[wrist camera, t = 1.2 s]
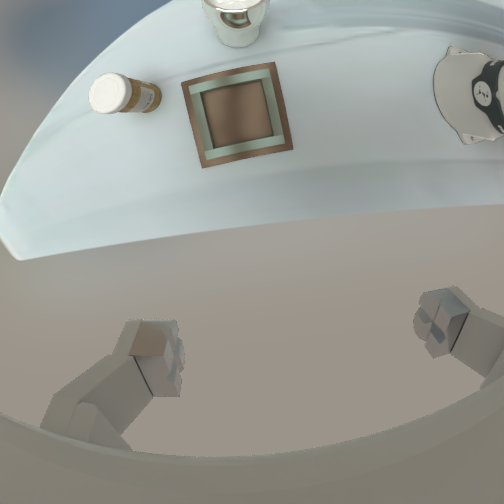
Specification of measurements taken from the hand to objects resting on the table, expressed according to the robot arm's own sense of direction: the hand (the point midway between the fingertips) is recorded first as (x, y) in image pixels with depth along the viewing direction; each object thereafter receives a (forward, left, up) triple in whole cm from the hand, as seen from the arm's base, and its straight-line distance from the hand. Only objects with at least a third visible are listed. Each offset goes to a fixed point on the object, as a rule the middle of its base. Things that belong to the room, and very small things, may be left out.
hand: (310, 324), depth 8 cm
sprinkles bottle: (+13, -13, -34) cm, 39 cm away
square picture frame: (+1, -7, -34) cm, 35 cm away
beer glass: (-1, -20, -34) cm, 40 cm away
